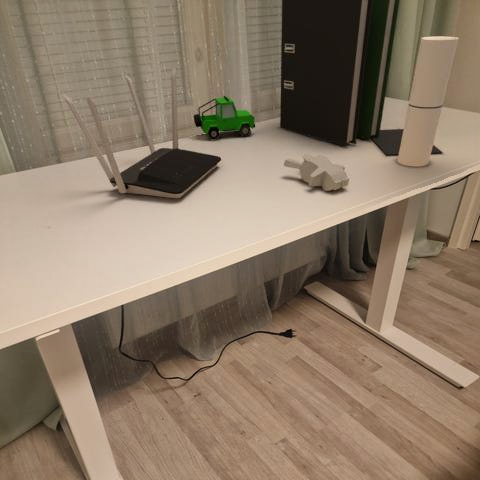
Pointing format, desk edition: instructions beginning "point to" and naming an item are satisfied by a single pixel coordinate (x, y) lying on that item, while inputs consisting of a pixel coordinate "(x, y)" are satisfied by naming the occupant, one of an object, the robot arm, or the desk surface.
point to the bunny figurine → (320, 172)
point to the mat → (393, 142)
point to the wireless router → (151, 157)
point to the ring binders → (335, 67)
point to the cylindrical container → (426, 99)
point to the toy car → (224, 119)
